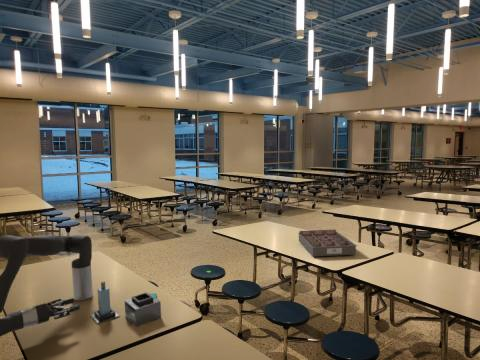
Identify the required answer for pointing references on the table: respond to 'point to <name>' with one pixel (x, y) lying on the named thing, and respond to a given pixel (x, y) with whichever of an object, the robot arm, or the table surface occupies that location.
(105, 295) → the plug
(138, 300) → the box with square opening
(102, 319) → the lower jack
